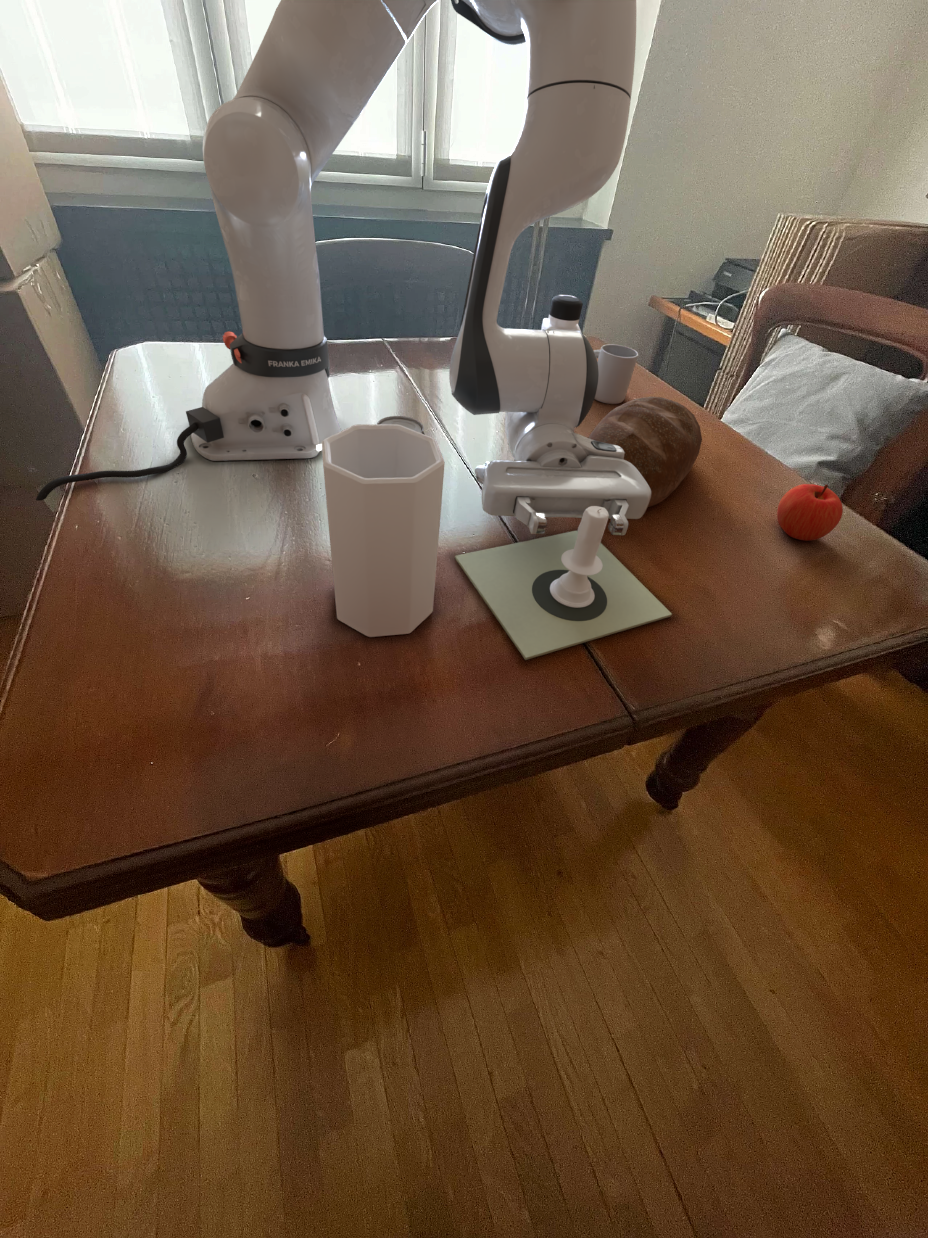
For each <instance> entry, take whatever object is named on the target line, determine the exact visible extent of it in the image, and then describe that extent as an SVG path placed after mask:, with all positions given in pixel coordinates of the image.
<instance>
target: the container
mask: <svg viewBox="0 0 928 1238" xmlns="http://www.w3.org/2000/svg"><path fill="white" fill-rule="evenodd" d="M583 305H584V303H583V301H582V300H581V299H580V298H578V297H576V296H575V295H574V296H573V295H570V294H569V295H568V294H557V295H555V296H553V298H552V299H551V302H550V308H549V313H548V316H547V317H544V318H543V319H542V322H541V323H542V324H541V328H540V330H543V329H548V330H568V331H580V332H581V333H582V334H583V332H582V330H581V328H580V326H579V323H580V319H581V314H582V310H583Z"/></svg>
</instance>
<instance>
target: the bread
mask: <svg viewBox="0 0 928 1238" xmlns="http://www.w3.org/2000/svg"><path fill="white" fill-rule="evenodd" d="M587 438H589V439H592V440H595V441H599V442H603V443H608V444H612V445H617V446H619V447H621V448H622V449H623V450H624V452H625V454H624V459H623V460H626V461H628V462H630V463H631V464H632V465H634V466H635V467H636V468H637V470H638V471H639V472H640V474H641V475H642V476H643V478H644V479H645V481H646V482H647V484H648V485H649V487H650V489H651V498H650V502H649V504H648V507H647V508H650V507H653V506H656V505H658V504H660V503H661V502H663V501H665V500H666V499H667V498H669V496H670V495H671V494H672V493H673V492H674V491H675V490H676V489H677V488H678V487H679V485H680V484H681V483H682V482H683V480H685V478H686V477H687V475H688V474H689V473H690V471H692V468H693V466H694V465H695V462H696V460H697V458H698V456H699V454H700V450H701V447H702V442H703V437H702V431H701V425H700V423H699V422H698V420H697V417H696V416H695V414H694V413H693V412H692V411H690V410H689V409H688V408H687V407H686V406H685V405H683V404H681V403H680V402H678V401H674V400H672V399H670V398H669V399H668V398H665V397H661V396H646V397H645V396H644V397H641V398H640V397H639V398H634V399H632V400H629V401H626V402H625V403H623V404H619V405H618V406H616V407H615V408H613V409H612V410H610V412H608V413H607V414H605V416H604V417H603V418H602V419H601V420H600V421H599V422H598V423H597V424H596V426H595V427H594V428H593V430H592V431H591V433H590V434H589V436H588V437H587Z"/></svg>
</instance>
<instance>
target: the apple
mask: <svg viewBox="0 0 928 1238" xmlns="http://www.w3.org/2000/svg"><path fill="white" fill-rule="evenodd" d="M828 487H829V484H824V486H822V485H819V484H811V483H802V484H799V485H795V486H793V487H792V488H790V489H788V491H786V493H784V494H783V496H782V497H781V498H780V501H779V502H778V506H777V509H776V510H777V511H776V518H777V522H778V524H779V527H780V528H781V529H782V530H783V532H785V534H786V535H788V536H789V537H790V538H793V539H796V540H799V541H804V542H805V541H806V542H808V541H816V540H819V539H821V538H823V537H825V536H827V535H828V534H830V533H831V532H832V531H833V530H834V529H835V528H836V527H837V526H838V524H839V523H840V521H841V520H842V517H843V514H844V513H843V512H844V508H843V503H842V501H841V499H840V497H839V496H838V495H837V493H835V492H834V491H833V490H831V489H830V488H828Z"/></svg>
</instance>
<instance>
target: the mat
mask: <svg viewBox="0 0 928 1238" xmlns="http://www.w3.org/2000/svg"><path fill="white" fill-rule="evenodd" d="M577 537H578V529H577V530H572V531H567V532H563V533H558V534H553V535H548V536H544V537H539V538H534V539H530V540H525V541H519V542H515V543H511V544H510V543H509V544H505V545H501V546H496V547H490V548H485V549H480V550H475V551H471V552H466V553H462V554H457V555H455V556H454V559H455V561H456V562H457V564H458V565H459V566H460V568H461V569H462V571H463V572H464V574H465V575H466V576H467V578H468V579H469V581H470V583H471V584H472V585H473V586H474V588H475V589H476V591H477V592H478V594H479V595H480V597H481V598H482V600H483V601H484V603H485V604H486V605H487V607H488V609H489V610H490V611H491V613H492V614H493V615H494V617H495V619H496V620H497V621H498V623H499V625H500V626H501V627H502V629H503V630H504V632H505V633H506V635H507V636H508V637H509V639H510V640H511V642H512V643H513V644H514V646H515V648H516V649H517V651H518V652H519V654H520V655H521V656H522V658H523V659H524V661H528V660H530V659H531V660H532V659H534V658H537V657H541V656H544V655H547V654H551V653H553V652H554V653H555V652H556V651H560V650H561V651H562V650H565V649H567V648H571V647H575V646H577V645H580V644H584V643H587V642H590V641H594V640H597V639H600V638H604V637H606V636H610V635H613V634H617V633H620V632H624V631H627V630H630V629H633V628H638V627H641V626H643V625H647V624H650V623H654V622H657V621H660V620H664V619H667V618H671V617H672V615H673V613H672V612H671V611H670V610H669V609H668V608H667V607H666V606H665V605H664V604H663V603H662V602H661V601H660V600H659V599H658V598H656V596H655V595H654V594H653V593H652V592H651V591H649V589H648V588H647V587H645V585H643V583H642V582H641V581H640V580H638V578H637V577H636V576H635V575H634V574H633V573H632V572H631V571H630V570H629V569H628V568H627V567H626V566H625V565H624V564H622V562H621V561H620V560H618V559H617V557H616V556H615V555H613V553H612V552H611V551H610V550H609V549H608V548H607V547H606V546H605V545H604V544H603V543H602V541H601V542H600V545H599V548H598V551H597V554H596V556H598V557H599V558H600V560H601V561H602V565H603V567H602V570H601V571H600V572H599V573H597V574H594V575H587V578H588V580H589V581H590V583H591V588H592V590H593V591H594V595H595V597H594V600H593V602H592V603H591V604H590V605H588V606H586V607H581V608H574V607H569V606H565V605H563V604H561V603H559V602H558V601H557V600H555V599H554V597H553V596H552V595H551V592H550V585H551V583H552V582H553V581H554V580H556V579H558V578H560V577H561V576H562V575H563V574H565V573H568V572H569V571H570V570H568V569H567V568H566V567H565V566H564V565H563V563H562V561H561V556H562V554H563V553H564V552H566V551H567V550H571V549H574V547H575V543H576V540H577Z"/></svg>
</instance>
